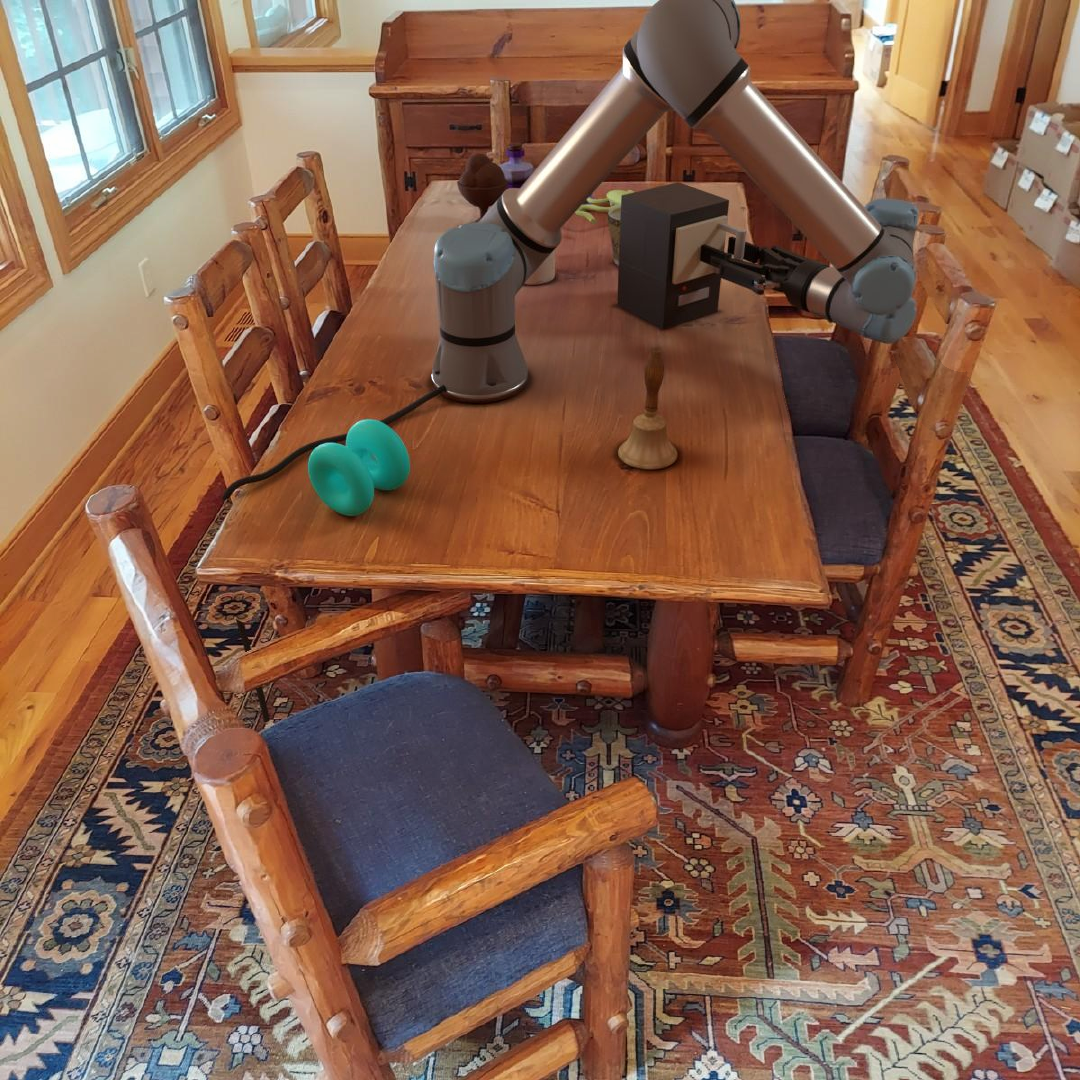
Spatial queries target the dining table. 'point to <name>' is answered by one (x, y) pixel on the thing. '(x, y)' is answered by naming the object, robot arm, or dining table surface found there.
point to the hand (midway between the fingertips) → (716, 248)
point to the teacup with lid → (543, 272)
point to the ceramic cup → (615, 231)
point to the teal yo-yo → (359, 467)
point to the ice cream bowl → (482, 183)
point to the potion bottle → (516, 166)
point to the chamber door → (690, 247)
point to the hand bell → (649, 425)
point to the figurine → (612, 197)
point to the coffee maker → (663, 254)
